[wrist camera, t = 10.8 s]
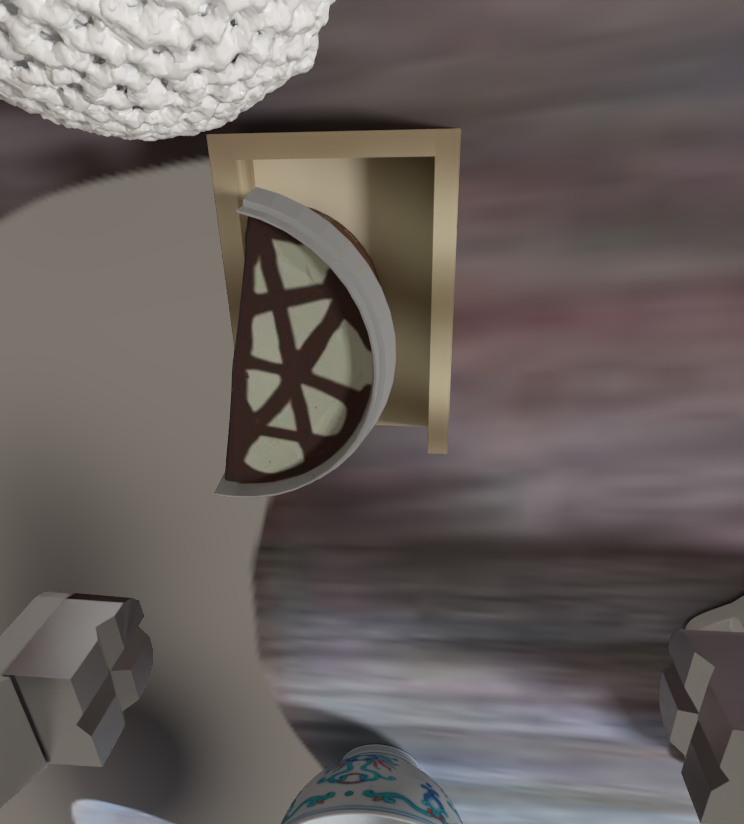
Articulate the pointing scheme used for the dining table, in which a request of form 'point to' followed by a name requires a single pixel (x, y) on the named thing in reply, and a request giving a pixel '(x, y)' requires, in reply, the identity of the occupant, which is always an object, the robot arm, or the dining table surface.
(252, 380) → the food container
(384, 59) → the dining table surface
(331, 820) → the chinaware
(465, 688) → the dining table surface
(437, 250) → the wooden tray
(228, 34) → the white bumpy round lump
